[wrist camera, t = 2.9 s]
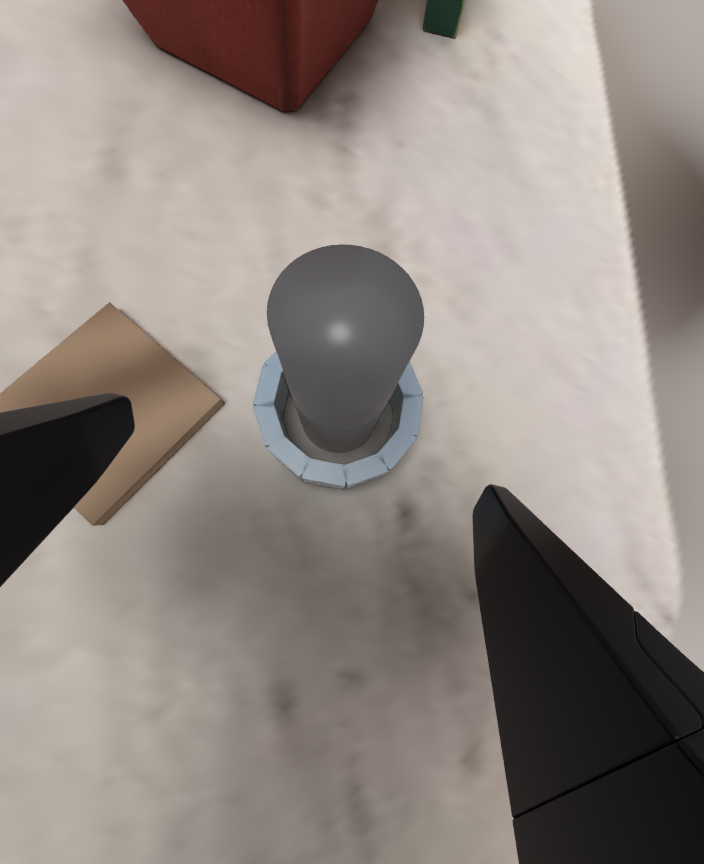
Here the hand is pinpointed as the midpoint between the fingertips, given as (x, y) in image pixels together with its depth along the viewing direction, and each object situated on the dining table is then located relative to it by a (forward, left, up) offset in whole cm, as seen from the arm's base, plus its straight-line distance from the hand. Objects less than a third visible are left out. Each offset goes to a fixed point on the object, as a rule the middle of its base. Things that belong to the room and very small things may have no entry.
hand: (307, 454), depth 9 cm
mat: (+12, +5, -11) cm, 17 cm away
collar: (+2, -4, -11) cm, 12 cm away
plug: (+2, -4, -11) cm, 12 cm away
